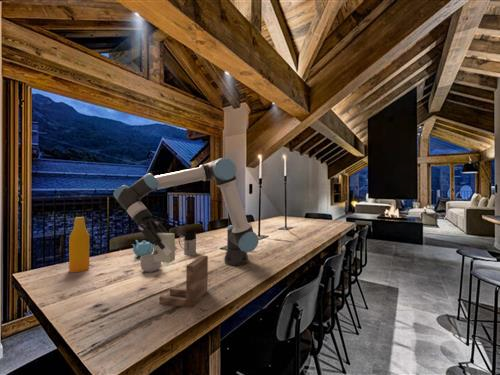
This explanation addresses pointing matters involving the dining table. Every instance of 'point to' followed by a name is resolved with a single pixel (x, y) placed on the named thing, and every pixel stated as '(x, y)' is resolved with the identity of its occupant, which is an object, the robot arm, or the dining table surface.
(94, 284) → the dining table surface
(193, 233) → the glass holder
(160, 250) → the block
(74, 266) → the beer bottle
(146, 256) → the teacup
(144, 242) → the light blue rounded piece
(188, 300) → the wooden stand
